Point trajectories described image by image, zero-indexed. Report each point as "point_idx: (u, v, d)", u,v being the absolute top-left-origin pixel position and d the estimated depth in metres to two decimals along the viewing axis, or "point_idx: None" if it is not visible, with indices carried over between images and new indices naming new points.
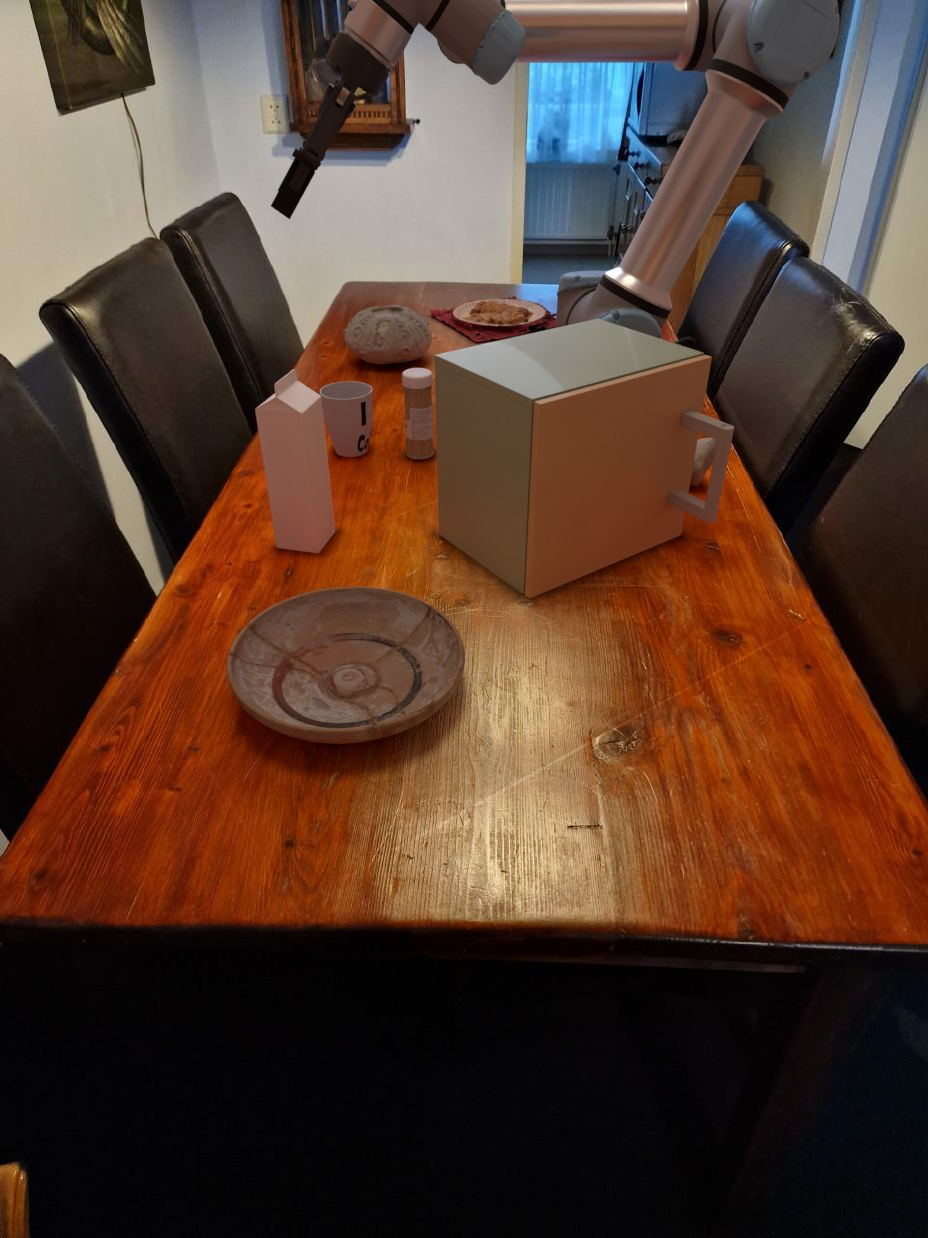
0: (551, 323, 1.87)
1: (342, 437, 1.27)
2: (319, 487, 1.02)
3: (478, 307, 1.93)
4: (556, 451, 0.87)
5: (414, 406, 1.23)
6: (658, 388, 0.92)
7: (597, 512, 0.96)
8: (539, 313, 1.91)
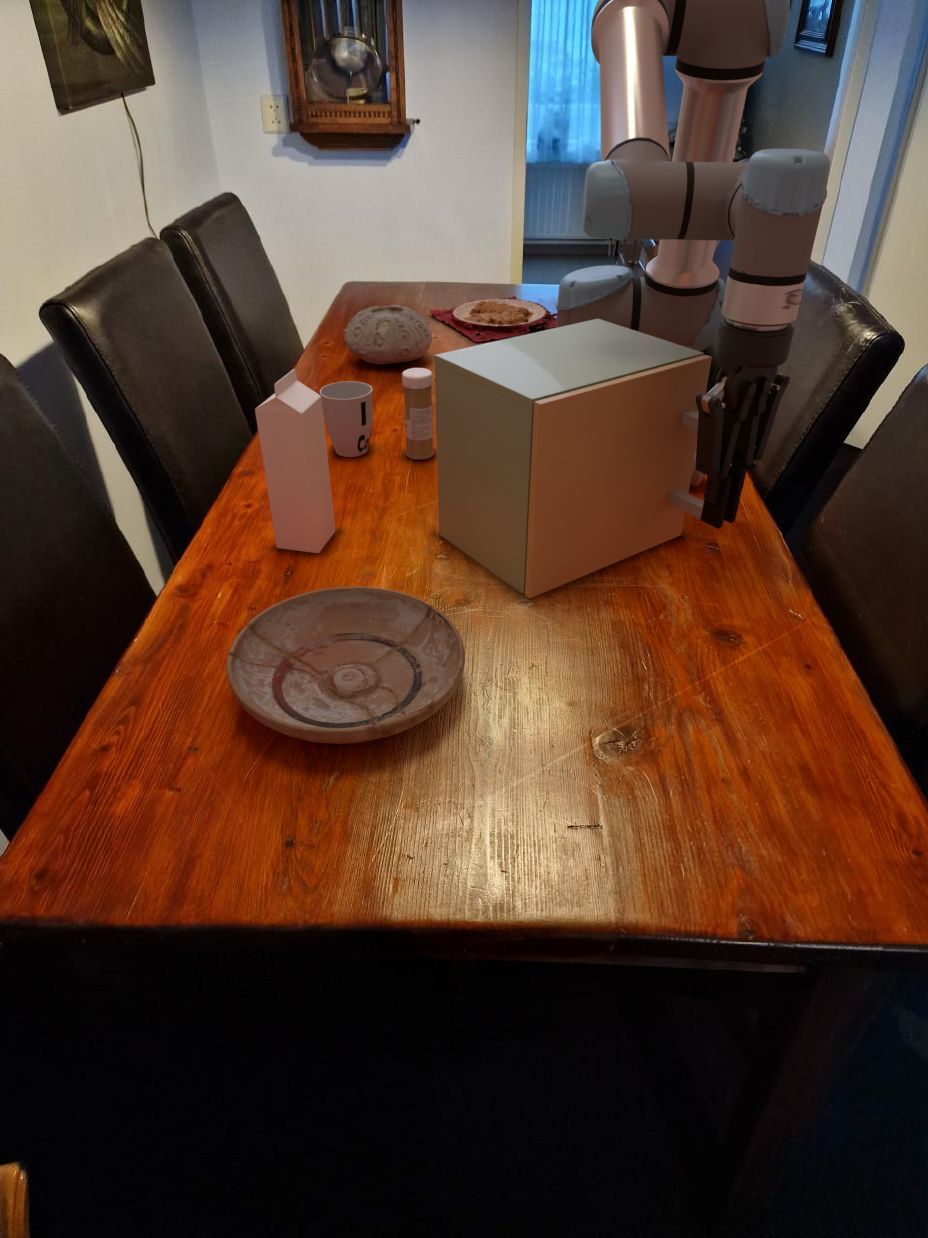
0: (551, 323, 1.87)
1: (342, 437, 1.27)
2: (319, 487, 1.02)
3: (478, 307, 1.93)
4: (556, 451, 0.87)
5: (414, 406, 1.23)
6: (658, 388, 0.92)
7: (597, 512, 0.96)
8: (539, 313, 1.91)
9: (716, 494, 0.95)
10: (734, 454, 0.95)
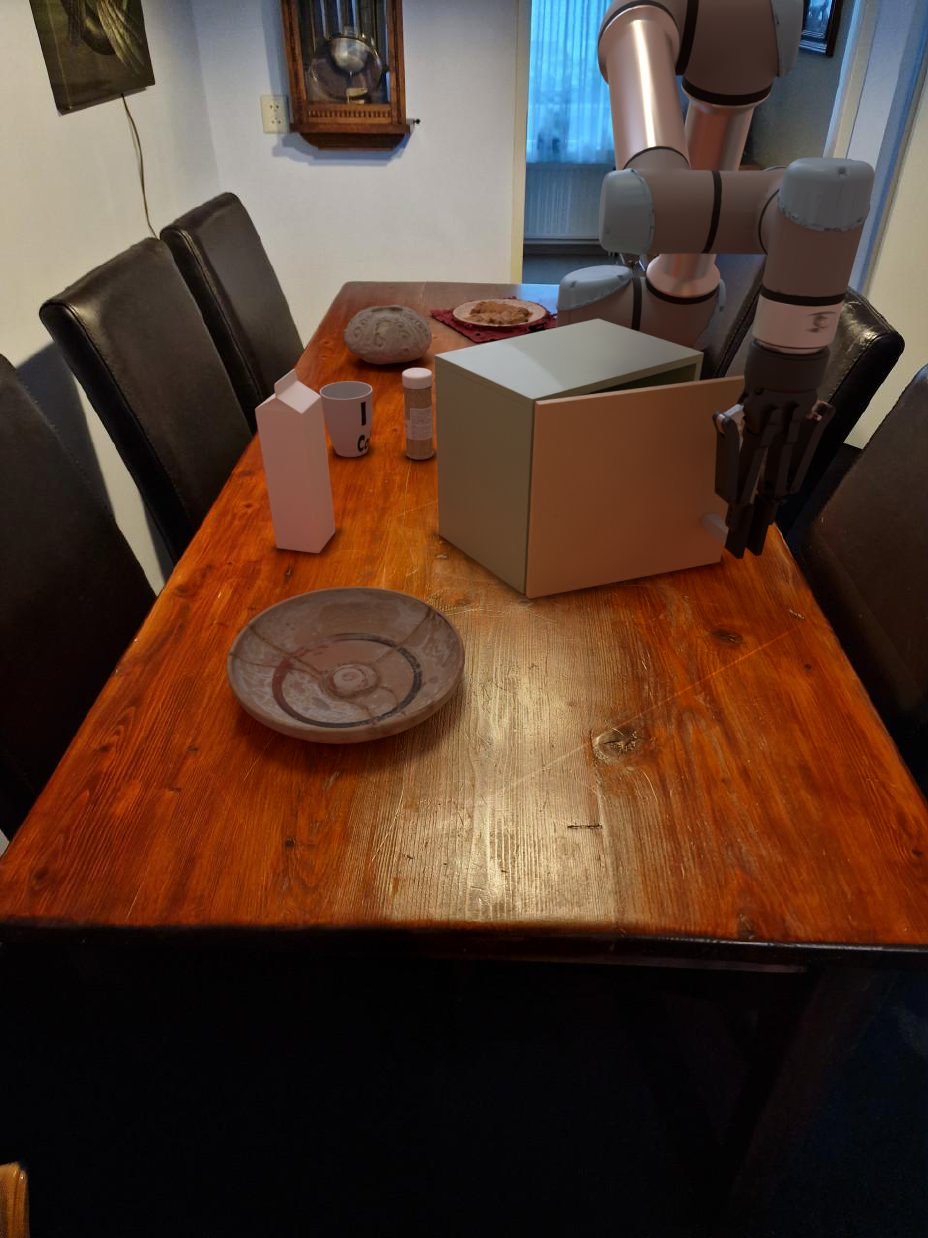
0: (551, 323, 1.87)
1: (342, 437, 1.27)
2: (319, 487, 1.02)
3: (478, 307, 1.93)
4: (559, 454, 0.86)
5: (414, 406, 1.23)
6: (687, 403, 0.88)
7: (610, 523, 0.94)
8: (539, 313, 1.91)
9: (736, 522, 0.89)
10: (767, 483, 0.89)
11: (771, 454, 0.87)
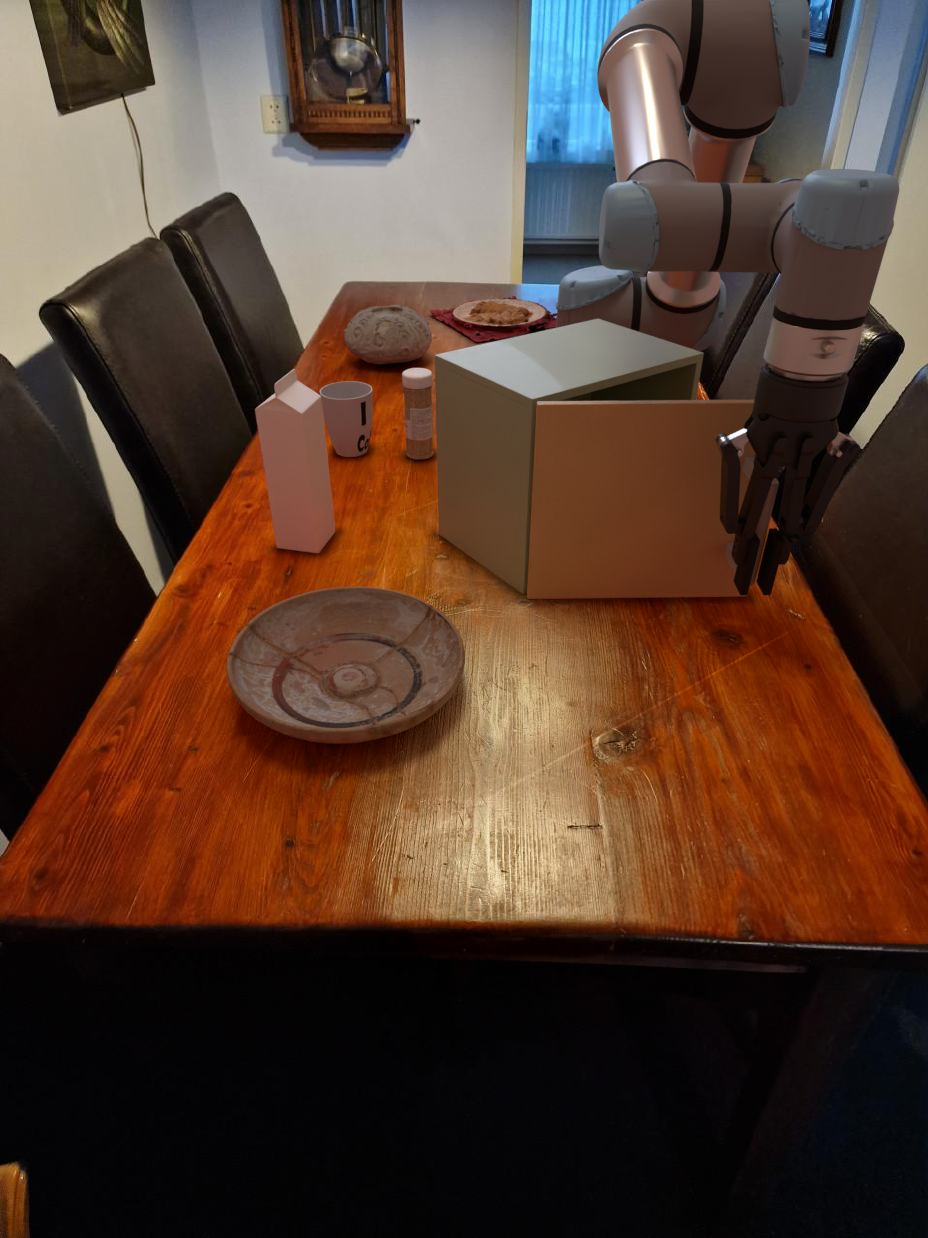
0: (551, 323, 1.87)
1: (342, 437, 1.27)
2: (319, 487, 1.02)
3: (478, 307, 1.93)
4: (560, 457, 0.86)
5: (414, 406, 1.23)
6: (706, 422, 0.84)
7: (617, 536, 0.91)
8: (539, 313, 1.91)
9: (740, 555, 0.83)
10: (783, 519, 0.83)
11: (786, 488, 0.80)
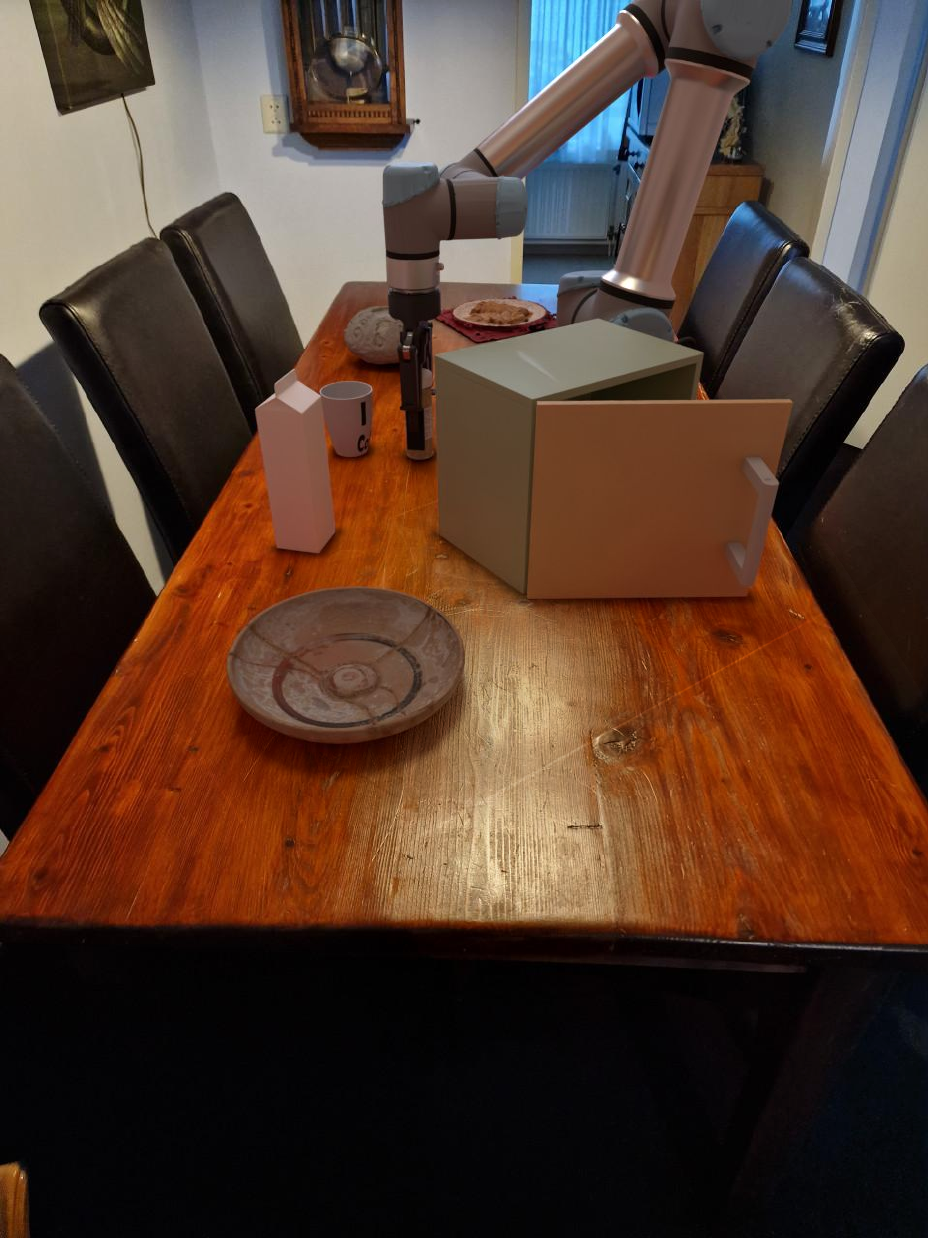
0: (551, 323, 1.87)
1: (342, 437, 1.27)
2: (319, 487, 1.02)
3: (478, 307, 1.93)
4: (560, 457, 0.86)
5: None
6: (706, 422, 0.84)
7: (617, 536, 0.91)
8: (539, 313, 1.91)
9: (418, 424, 1.23)
10: None
11: None
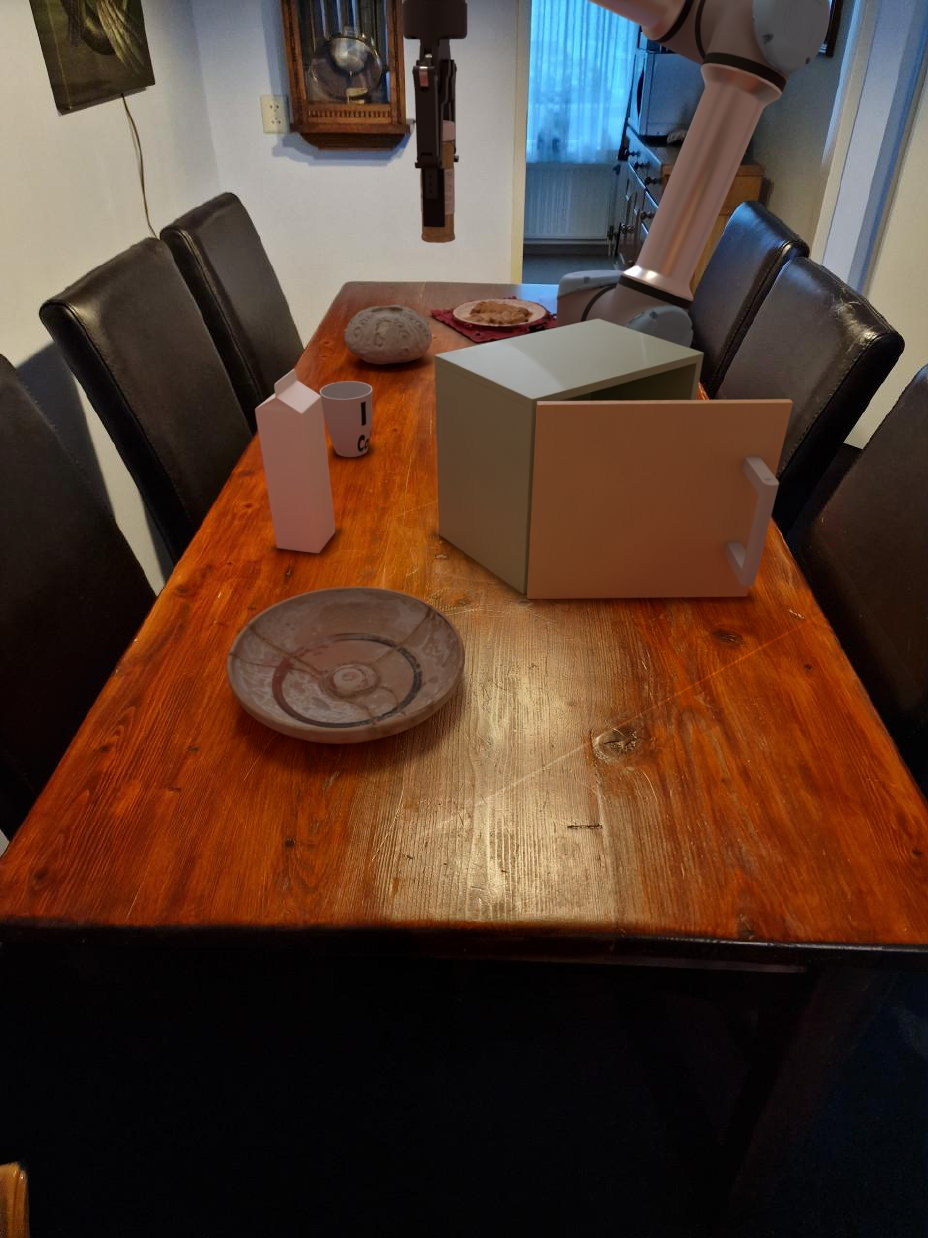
0: (551, 323, 1.87)
1: (342, 437, 1.27)
2: (319, 487, 1.02)
3: (478, 307, 1.93)
4: (560, 457, 0.86)
5: None
6: (706, 422, 0.84)
7: (617, 536, 0.91)
8: (539, 313, 1.91)
9: (437, 188, 1.00)
10: None
11: None
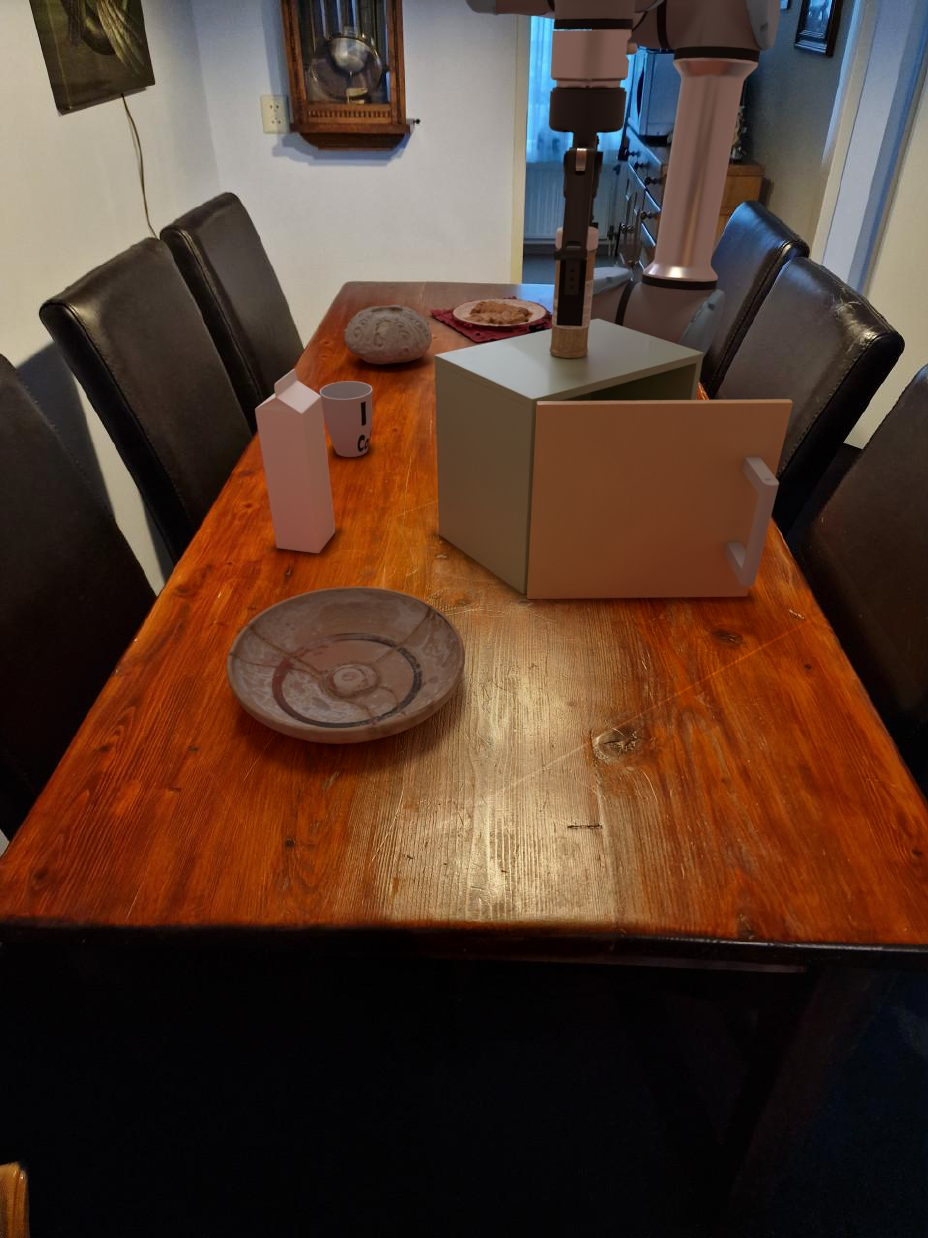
0: (551, 323, 1.87)
1: (342, 437, 1.27)
2: (319, 487, 1.02)
3: (478, 307, 1.93)
4: (560, 457, 0.86)
5: None
6: (706, 422, 0.84)
7: (617, 536, 0.91)
8: (539, 313, 1.91)
9: None
10: None
11: None
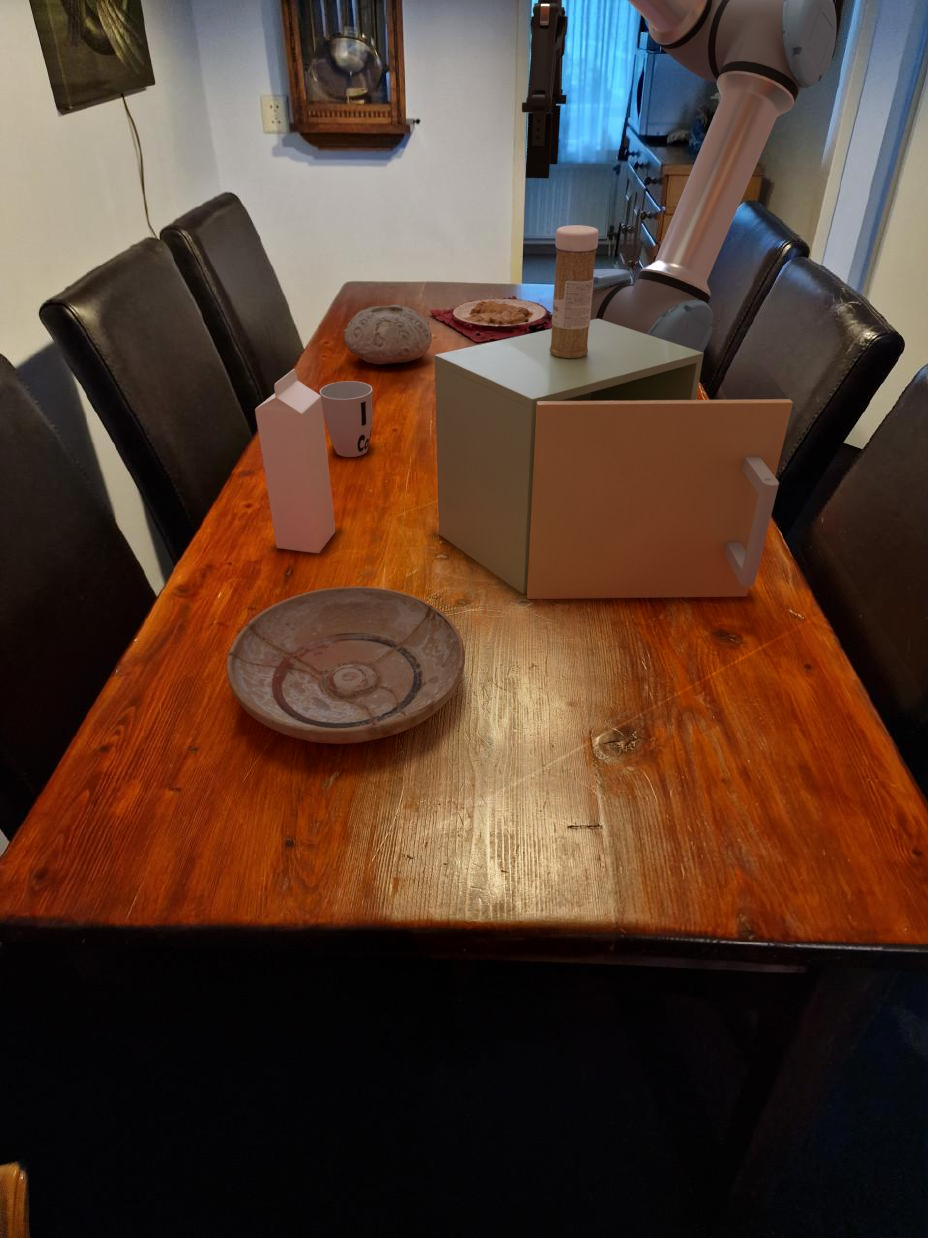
0: (551, 323, 1.87)
1: (342, 437, 1.27)
2: (319, 487, 1.02)
3: (478, 307, 1.93)
4: (560, 457, 0.86)
5: (572, 278, 0.89)
6: (706, 422, 0.84)
7: (617, 536, 0.91)
8: (539, 313, 1.91)
9: None
10: None
11: None
